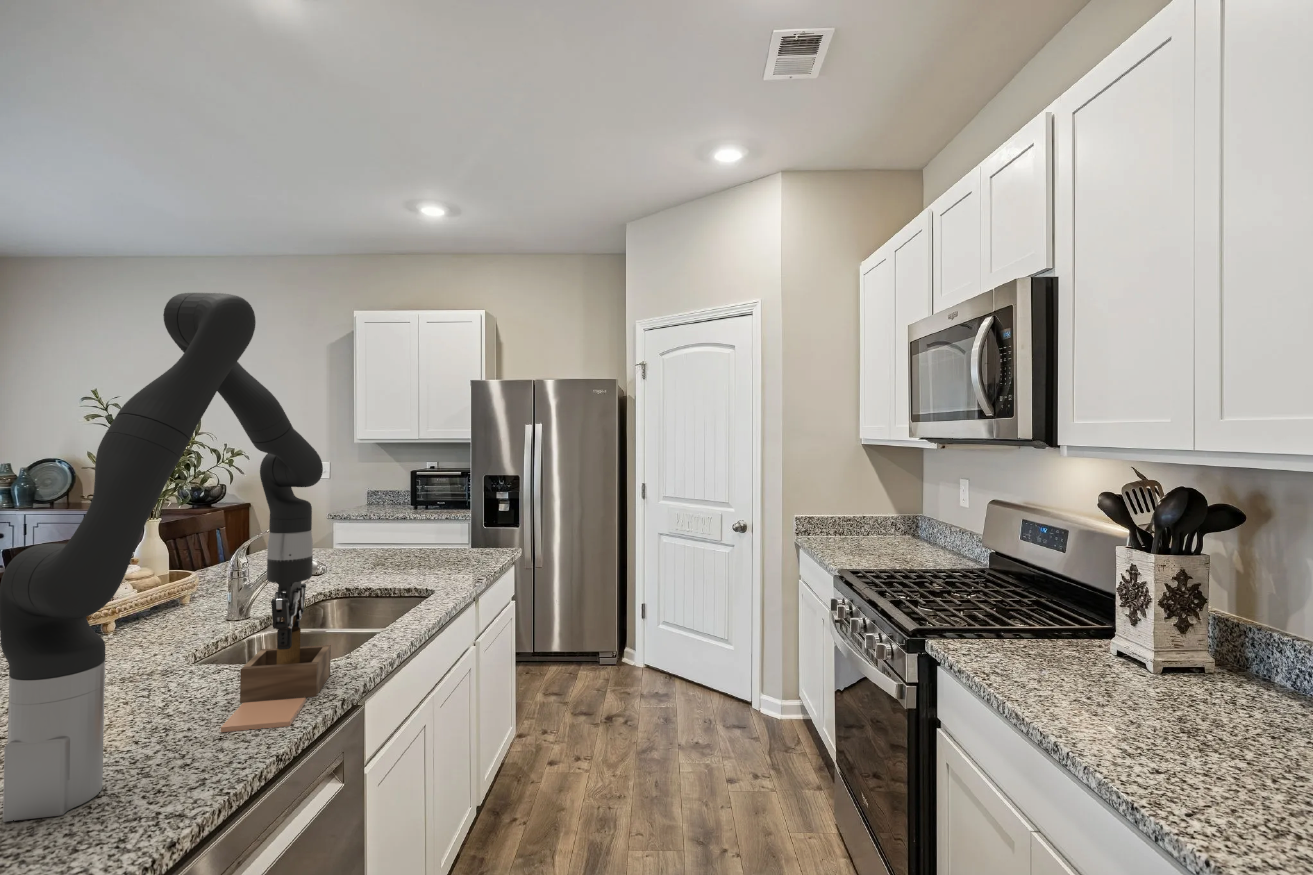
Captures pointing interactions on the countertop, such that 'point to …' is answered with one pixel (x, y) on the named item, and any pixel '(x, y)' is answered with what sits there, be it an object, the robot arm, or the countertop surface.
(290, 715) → the terracotta tile
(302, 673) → the open wooden box
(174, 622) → the countertop surface
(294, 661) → the mortar and pestle
